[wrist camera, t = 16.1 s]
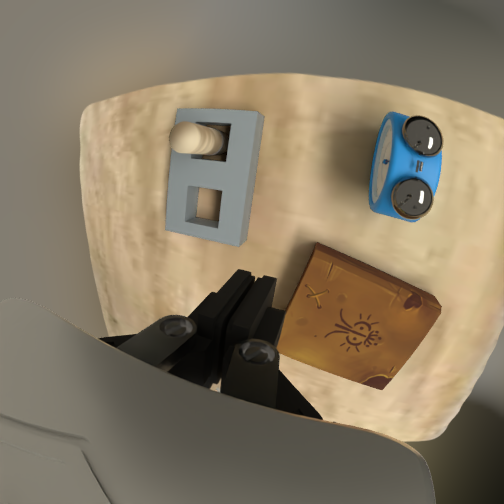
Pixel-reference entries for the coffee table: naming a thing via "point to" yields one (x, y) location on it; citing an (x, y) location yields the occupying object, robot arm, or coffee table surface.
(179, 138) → the dowel
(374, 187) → the alarm clock
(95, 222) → the coffee table surface
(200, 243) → the coffee table surface
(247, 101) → the coffee table surface
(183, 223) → the board
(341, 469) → the robot arm
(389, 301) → the diary
